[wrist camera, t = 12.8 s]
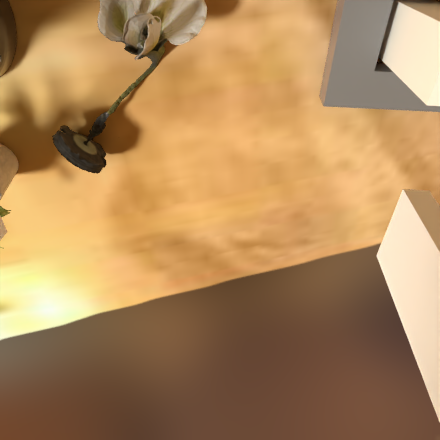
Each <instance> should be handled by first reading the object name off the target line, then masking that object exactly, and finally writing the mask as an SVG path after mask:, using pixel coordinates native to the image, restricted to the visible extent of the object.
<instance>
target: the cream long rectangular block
mask: <svg viewBox="0 0 440 440" xmlns="http://www.w3.org/2000/svg"><path fill="white" fill-rule="evenodd" d="M378 57H379V58H380V59H381V60H382V61H383V62H384V63H385V64H386V65H387V66H388V67H389V68H390V69H391V70H392V71H393V72H394V73H395V74H396V75H397V76H398V77H399V78H400V79H401V80H402V81H403V82H404V83H405V84H406V85H407V86H408V87H409V88H410V89H411V90H412V91H413V92H414V93H415V94H416V95H417V96H418V97H419V98H420V99H421V100H422V101H423V102H424V103H425V104H426V105H427V106H440V2H439V1H436V0H394V1H393V5H392V8H391V12H390V16H389V19H388V23H387V27H386V30H385V34H384V38H383V41H382V45H381V49H380V52H379V56H378Z"/></svg>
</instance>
